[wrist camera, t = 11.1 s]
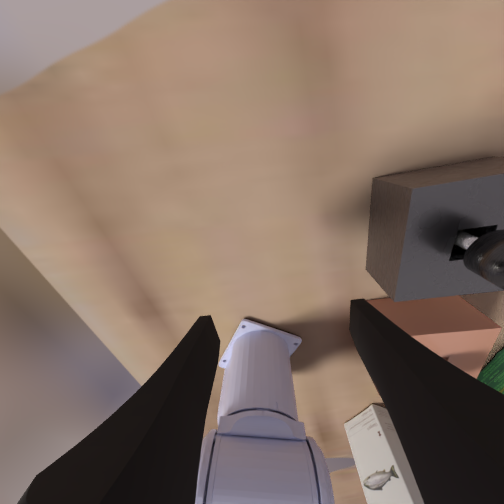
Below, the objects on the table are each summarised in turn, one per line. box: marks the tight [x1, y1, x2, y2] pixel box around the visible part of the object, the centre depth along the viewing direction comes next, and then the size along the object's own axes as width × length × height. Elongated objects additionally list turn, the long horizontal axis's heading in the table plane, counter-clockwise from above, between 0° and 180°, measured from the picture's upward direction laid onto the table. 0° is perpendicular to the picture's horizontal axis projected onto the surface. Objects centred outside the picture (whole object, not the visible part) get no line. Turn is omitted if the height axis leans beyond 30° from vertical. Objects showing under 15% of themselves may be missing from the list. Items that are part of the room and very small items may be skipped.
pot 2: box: [366, 295, 502, 395], centre depth 22 cm, size 9×9×5 cm
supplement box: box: [344, 404, 424, 504], centre depth 28 cm, size 7×7×13 cm
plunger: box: [454, 230, 504, 290], centre depth 14 cm, size 3×3×8 cm
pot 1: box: [366, 157, 504, 302], centre depth 16 cm, size 9×9×5 cm
